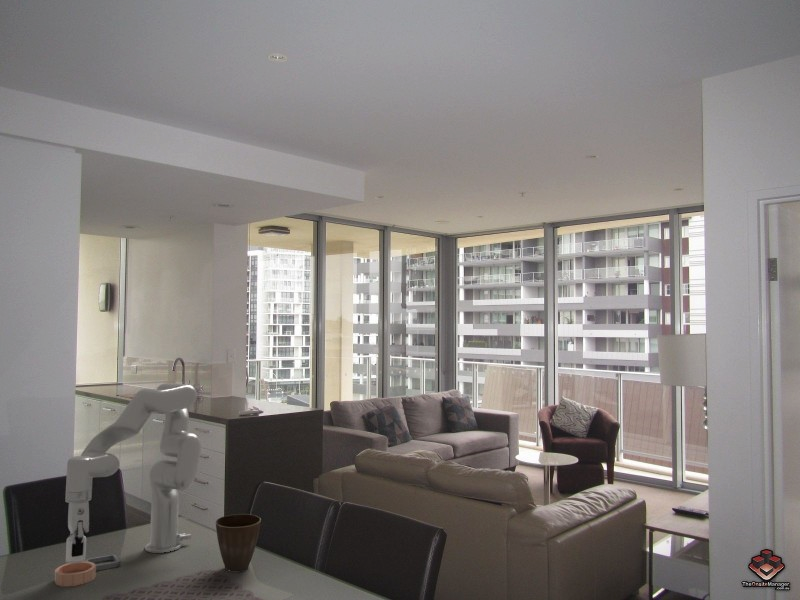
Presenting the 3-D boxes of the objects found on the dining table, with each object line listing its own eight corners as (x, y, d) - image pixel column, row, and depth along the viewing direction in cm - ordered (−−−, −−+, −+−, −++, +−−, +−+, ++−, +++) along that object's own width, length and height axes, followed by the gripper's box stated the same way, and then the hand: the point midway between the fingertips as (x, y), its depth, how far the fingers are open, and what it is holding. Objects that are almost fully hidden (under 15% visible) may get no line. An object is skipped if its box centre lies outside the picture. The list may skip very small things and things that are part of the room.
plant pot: (265, 571, 212) (267, 522, 212) (221, 579, 204) (222, 529, 205) (251, 557, 224) (253, 511, 225) (209, 565, 217) (210, 517, 218)
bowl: (91, 569, 211) (91, 559, 211) (98, 581, 201) (98, 569, 202) (52, 577, 204) (53, 566, 204) (57, 589, 195) (58, 577, 195)
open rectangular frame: (114, 558, 221) (114, 554, 222) (120, 566, 214) (120, 561, 215) (84, 563, 216) (84, 559, 216) (88, 571, 209) (89, 567, 209)
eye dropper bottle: (76, 565, 200) (78, 526, 201) (63, 562, 202) (64, 524, 202) (87, 560, 204) (89, 522, 205) (74, 558, 206) (76, 520, 207)
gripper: (96, 499, 199) (93, 559, 198) (86, 488, 213) (84, 544, 212) (69, 503, 195) (66, 563, 194) (61, 491, 209) (58, 548, 208)
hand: (75, 553), depth 203 cm, fingers closed on eye dropper bottle, 4 cm apart
